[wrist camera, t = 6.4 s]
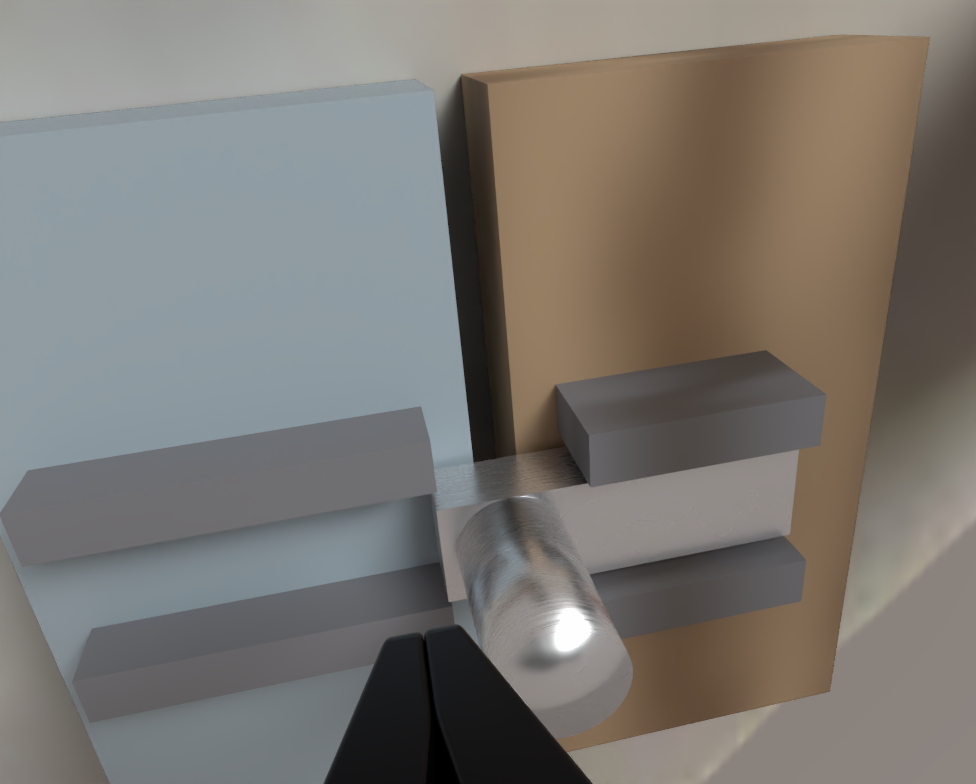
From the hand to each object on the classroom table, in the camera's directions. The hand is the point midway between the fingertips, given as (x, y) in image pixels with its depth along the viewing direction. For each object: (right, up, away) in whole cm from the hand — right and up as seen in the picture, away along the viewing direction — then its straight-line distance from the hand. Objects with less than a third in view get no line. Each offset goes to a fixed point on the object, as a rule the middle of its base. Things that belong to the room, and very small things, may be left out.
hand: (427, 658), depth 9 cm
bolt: (+3, +1, +10) cm, 10 cm away
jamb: (+5, +3, +13) cm, 14 cm away
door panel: (-5, +1, +11) cm, 13 cm away
